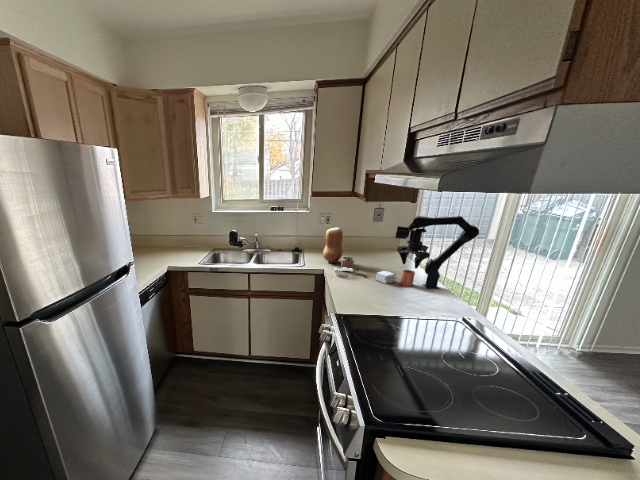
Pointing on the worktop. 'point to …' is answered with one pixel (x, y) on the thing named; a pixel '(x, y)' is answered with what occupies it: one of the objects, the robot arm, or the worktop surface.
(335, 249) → the butternut squash
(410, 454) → the worktop surface
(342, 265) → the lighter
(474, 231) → the robot arm
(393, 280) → the small box
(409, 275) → the cup
